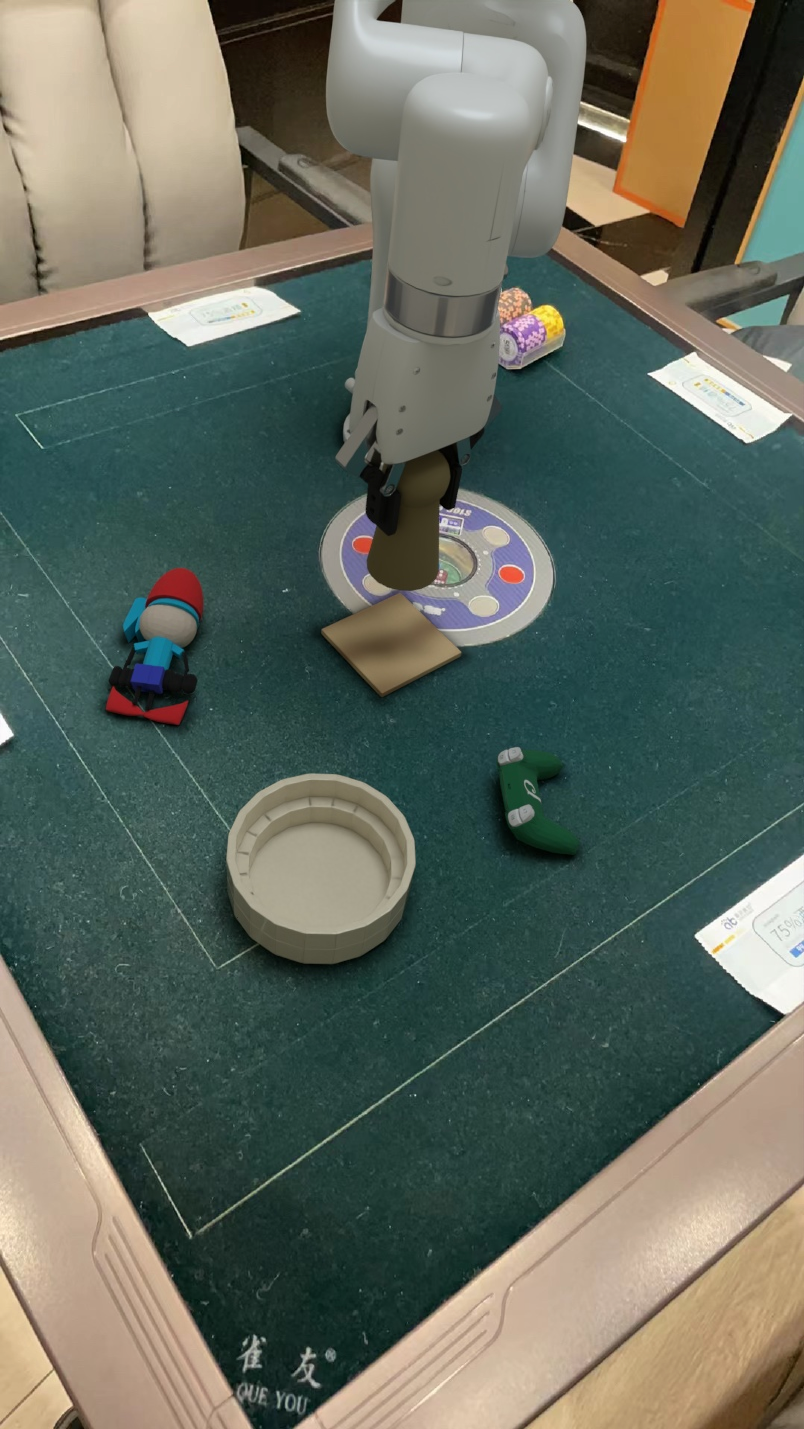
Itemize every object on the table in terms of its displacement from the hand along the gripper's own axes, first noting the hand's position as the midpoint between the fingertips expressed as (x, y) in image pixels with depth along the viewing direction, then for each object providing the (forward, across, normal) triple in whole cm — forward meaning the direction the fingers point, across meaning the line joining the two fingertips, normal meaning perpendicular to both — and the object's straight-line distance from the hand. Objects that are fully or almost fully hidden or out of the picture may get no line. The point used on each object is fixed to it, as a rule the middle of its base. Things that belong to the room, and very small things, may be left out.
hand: (410, 510), depth 82 cm
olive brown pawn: (+6, 0, 0) cm, 6 cm away
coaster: (+15, 0, 0) cm, 15 cm away
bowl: (+16, +19, +16) cm, 30 cm away
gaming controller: (+16, +1, +20) cm, 26 cm away
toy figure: (+16, +17, -10) cm, 25 cm away
